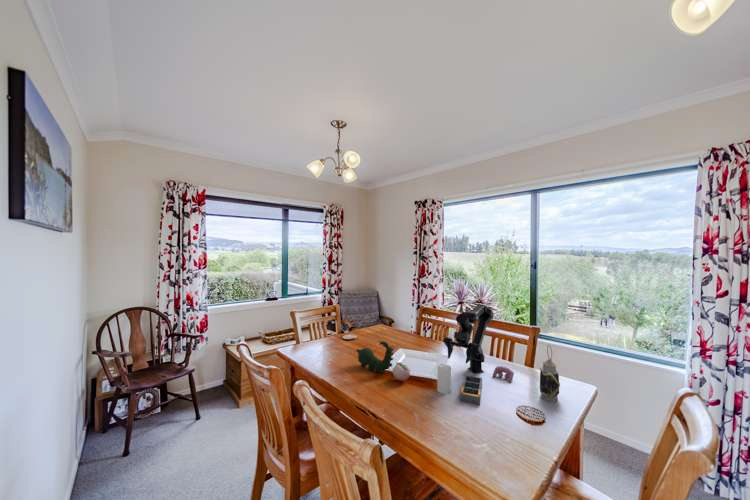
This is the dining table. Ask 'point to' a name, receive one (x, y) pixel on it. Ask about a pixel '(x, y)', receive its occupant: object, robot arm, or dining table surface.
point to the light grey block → (444, 379)
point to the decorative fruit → (401, 371)
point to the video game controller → (508, 372)
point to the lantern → (549, 380)
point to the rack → (471, 390)
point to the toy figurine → (375, 358)
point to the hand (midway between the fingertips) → (457, 360)
